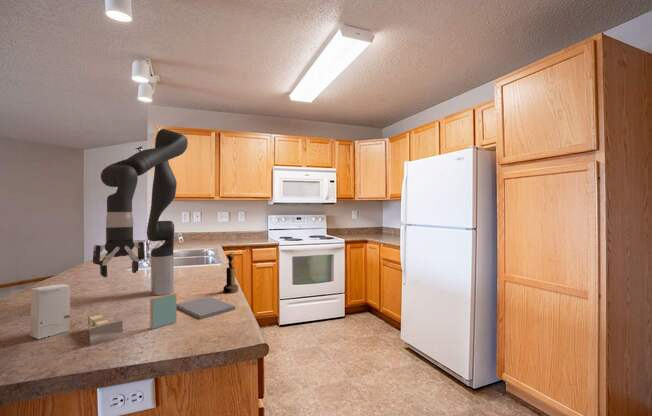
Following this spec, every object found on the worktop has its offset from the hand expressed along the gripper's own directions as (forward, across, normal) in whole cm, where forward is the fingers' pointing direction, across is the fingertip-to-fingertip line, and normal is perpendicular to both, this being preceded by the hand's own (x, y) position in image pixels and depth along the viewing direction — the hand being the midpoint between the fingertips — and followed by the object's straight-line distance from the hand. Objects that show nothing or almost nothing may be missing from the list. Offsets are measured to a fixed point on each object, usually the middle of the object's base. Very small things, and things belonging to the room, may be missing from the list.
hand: (119, 274), depth 103 cm
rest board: (+17, -28, +4) cm, 33 cm away
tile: (+18, -10, +9) cm, 22 cm away
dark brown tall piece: (+17, -48, -10) cm, 52 cm away
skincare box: (+18, +15, -12) cm, 26 cm away
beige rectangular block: (+18, +6, +2) cm, 19 cm away
